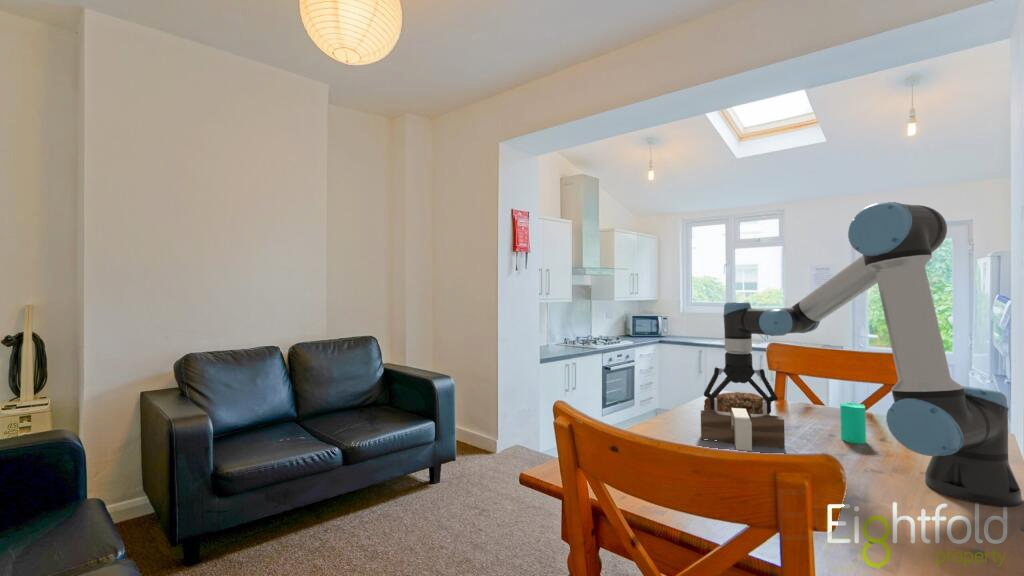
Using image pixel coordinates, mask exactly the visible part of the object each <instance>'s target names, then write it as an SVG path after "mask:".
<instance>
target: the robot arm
mask: <svg viewBox="0 0 1024 576" xmlns="http://www.w3.org/2000/svg"><path fill="white" fill-rule="evenodd" d="M947 233H948V225H947V221H946V219H945V218H944V216H943V215H942V214H941V213H940V212H939V211H937V210H935V209H934V208H931V207H929V206H925V205H919V204H908V203H907V204H906V203H900V202H895V201H892V202H890V201H889V202H878V203H873V204H870V205H868V206H866V207H864V208H863V209H861V210H860V211H858V212H857V214H856V215H855V216H854V218H853V219H852V220H851V222H850V224H849V227H848V231H847V237H848V241H849V244H850V245H851V247H852V248H853V249H854V250H855V251H856V252H857V253H859V254H861V256H860V257H858V258H857V259H855V260H854V261H853V262H851V263H850V264H849V265H847V266H845V268H843V269H842V270H840V271H839V272H837V273H836V274H835V275H834V276H832V277H831V278H830V279H828V280H827V281H825V282H824V283H823V284H820V285H819V287H817V288H816V289H814V290H813V291H812V292H810V293H809V294H807V295H806V296H805V297H804V298H802V299H801V300H800V301H798V302H797V303H795V304H794V305H792V306H790V307H782V308H781V307H779V308H752V306H751V305H752V304H751V302H749V301H728V302H726V303H724V306H723V324H724V330H723V331H724V351H726V352H725V353H724V365H725V366H724V368H722V367H718V366H715V367H714V371H713V374H712V376H711V378H710V380H709V382H708V385H707V386H706V388H705V390H704V392H703V396H704V397H705V398H710V408H711V409H713V410H714V411H717V398H715V397H716V396H717V395H718V394H721V392H722V391H723V390H724V389H725V388H726V387H727V386H728V385H729V384H730V383H734V384H739V383H740V384H747V383H749V385H750V386H752V387H753V388H754V390H756V392H757V393H758V394H759V396H761V397H763V398H764V399H765V400H766V401H763V415H767V413H770V414H771V413H772V403H773V402H777V401H778V399H779V397H778V396H777V395H776V392H775V391H774V390H773V387H772V386H771V384H770V383H769V381H768V378H767V377H766V373H765V370H764V368H762V367H759V368H756V369H755V368H754V367H753V354H752V353H751V352H752V351H753V343H752V342H753V341H752V339H753V338H752V337H753V336H752V335H761V336H762V335H765V336H770V337H779V336H780V337H781V336H786V335H787V334H805V333H810V332H814V331H815V330H816V329H817V328H818V327H819V325H820V322H821V321H822V320H824V319H825V318H827V317H828V316H829V315H831V314H833V313H835V312H836V311H837V310H838V309H840V308H843V306H845V305H847V304H848V303H849V302H851V301H852V300H854V299H856V298H857V297H859V296H860V295H861V294H863V293H864V292H866V291H868V290H869V289H870V288H872V287H874V286H875V285H877V287H878V291H879V296H880V301H881V305H882V310H883V315H884V320H885V324H886V328H887V329H886V330H887V333H888V338H889V339H888V340H889V343H890V348H891V351H892V353H891V354H892V356H893V361H894V366H895V372H896V377H897V382H896V383H895V384H894V385H893V386H892V387H891V394H892V398H893V403H892V404H891V406H890V408H888V409H887V412H886V415H885V416H886V417H885V418H886V420H885V421H886V425H887V428H888V430H889V432H890V433H891V436H893V438H894V439H895V440H896V441H897V442H898V443H899V444H901V445H902V446H903V447H905V448H906V449H908V450H909V451H911V452H913V453H916V454H919V455H921V456H927V457H931V458H930V461H929V463H928V466H927V468H926V470H925V473H924V474H925V475H924V477H925V478H924V480H925V484H926V486H928V487H929V488H931V489H932V490H934V491H936V492H939V493H940V494H943V495H946V496H949V497H952V498H954V499H958V500H961V501H962V500H963V501H966V502H971V503H976V504H981V505H986V506H987V505H988V506H995V507H996V506H997V507H1013V506H1014V507H1015V506H1018V505H1021V503H1022V490H1021V488H1020V485H1019V483H1018V482H1017V481H1018V480H1017V479H1016V477H1015V474H1014V472H1013V470H1012V468H1011V465H1010V463H1009V416H1008V415H1009V414H1008V413H1009V412H1008V411H1009V409H1010V408H1009V406H1008V400H1007V399H1008V398H1007V396H1006V395H1005V394H1004V393H1002V392H1001V391H998V390H993V389H986V388H980V387H973V386H966V385H961V384H960V383H958V382H957V381H955V380H954V379H953V378H952V377H951V373H950V369H949V363H948V361H947V355H946V352H945V347H944V343H943V337H942V335H941V334H942V333H941V330H940V326H939V321H938V316H937V313H936V308H935V303H934V301H933V300H934V299H933V297H932V296H933V295H932V292H931V291H932V290H931V287H930V283H929V279H928V274H927V269H926V265H928V263H929V262H930V261H931V260H932V259H933V255H932V253H933V252H935V251H936V250H938V248H940V246H941V245H942V244H943V243H944V242H945V239H946V237H947ZM722 373H724V374H725V375H726V377H724V380H722V382H721V383H720V384H719V385H718V386H717V387H716V388H715V389H714V390H713V391H712V389H713V388H714V385H715V383H716V382H717V380H718V378H719V376H721V375H722ZM754 375H757V377H759V378H760V379H761V381H762V383H763V385H764V386H765V389H766V390H767V392H768V393H769V395H770V396H768V394H766V393H765V391H764V390H763V389H762V388H761V387H760V386H759V385H758V384H757V382H755V381H754V380H753V378H752V377H753V376H754ZM711 391H712V392H711Z"/></svg>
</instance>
